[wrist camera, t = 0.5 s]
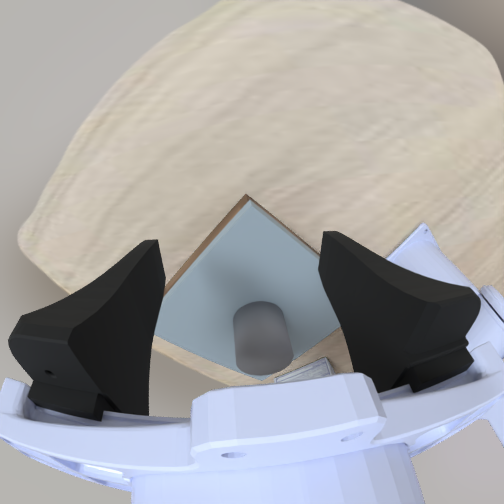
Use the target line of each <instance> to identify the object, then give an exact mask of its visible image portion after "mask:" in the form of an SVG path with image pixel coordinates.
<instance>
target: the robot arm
mask: <svg viewBox="0 0 504 504" xmlns="http://www.w3.org/2000/svg"><path fill="white" fill-rule="evenodd" d="M318 272H319V275H320V279H321V282H322V285H323V288H324V290H325V293H326V295H327V297H328V299H329V301H330V303H331V306H332V308H333V310H334V312H335V314H336V316H337V319H338V321H339V323H340V325H341V328H342V330H343V333H344V336H345V339H346V343H347V346H348V350H349V353H350V357H351V361H352V365H353V369H354V373H338V374H333V375H327V376H321V377H315V378H309V379H302V380H294V381H287V382H278V383H268V384H257V385H244V386H231V387H226V388H220V389H214V390H210V391H208V392H206V393H205V394H203V395H201V396H199V397H197V398H196V399H194V400H193V402H192V407H191V418H173V417H155V416H149V370H150V358H151V348H152V342H153V336H154V332H155V328H156V324H157V320H158V316H159V312H160V308H161V305H162V301H163V296H164V289H165V280H166V277H165V272H164V268H163V263H162V258H161V253H160V248H159V243H158V239H157V240H144V241H143V242H141V243H140V244H139V245H138V246H136V247H135V248H134V249H133V250H132V251H130V252H129V253H128V254H127V255H126V256H125V257H123V258H122V259H121V260H120V261H119V262H117V263H116V264H115V265H114V266H112V267H111V268H110V269H109V270H107V271H106V272H105V273H104V274H102V275H101V276H100V277H98V278H97V279H96V280H94V281H93V282H91V283H90V284H88V285H87V286H85V287H83V288H82V289H80V290H78V291H76V292H75V293H73V294H71V295H69V296H68V297H66V298H64V299H62V300H60V301H58V302H56V303H54V304H51V305H49V306H47V307H44V308H42V309H39V310H36V311H33V312H31V313H28V314H25V315H22V316H21V317H20V319H19V321H18V323H17V325H16V326H15V328H14V330H13V332H12V333H11V335H10V337H9V339H8V343H9V348H10V350H11V352H12V354H13V356H14V357H15V359H16V360H17V361H18V363H19V364H20V365H21V366H22V368H23V369H24V370H25V371H26V372H27V374H28V375H29V376H30V377H31V378H32V379H33V383H32V386H31V387H30V386H29V385H27V384H26V383H23V382H20V381H17V380H14V379H11V378H6V379H5V381H4V384H3V386H2V389H1V391H0V438H1V439H2V440H3V441H5V442H6V443H8V444H9V445H10V446H12V447H13V448H15V449H16V450H18V451H20V452H21V453H23V454H24V455H26V456H27V457H29V458H32V459H34V460H36V461H38V462H41V463H43V464H45V465H48V466H50V467H53V468H55V469H57V470H60V471H63V472H65V473H68V474H70V475H73V476H76V477H79V478H82V479H85V480H88V481H92V482H94V483H98V484H101V485H105V486H108V487H112V488H116V489H120V490H124V491H129V492H132V498H131V504H425V501H424V498H423V495H422V491H421V488H420V485H419V482H418V479H417V476H416V473H415V470H414V467H413V464H412V461H411V458H412V457H414V456H416V455H418V454H420V453H422V452H424V451H426V450H427V449H429V448H431V447H433V446H435V445H437V444H438V443H440V442H442V441H444V440H445V439H447V438H449V437H450V436H452V435H454V434H455V433H457V432H458V431H460V430H462V429H463V428H465V427H466V426H468V425H470V424H471V423H473V422H474V421H476V420H479V419H486V420H488V422H489V423H490V425H491V426H492V428H493V430H494V432H495V433H496V435H497V437H498V438H499V440H500V442H501V444H502V446H503V447H504V362H503V360H502V359H503V358H504V297H503V296H502V295H501V294H500V293H499V292H498V291H497V290H496V289H495V288H494V287H493V286H492V285H488V286H485V285H484V286H483V287H482V288H481V289H480V290H478V289H477V288H476V287H475V286H474V285H473V284H472V283H471V281H470V280H469V279H468V278H467V277H466V276H465V275H464V274H463V273H462V272H461V271H460V270H459V269H458V268H457V267H456V266H455V265H454V264H453V263H452V262H451V261H450V260H449V259H448V258H447V257H446V256H445V255H444V254H443V253H442V252H441V250H440V248H439V246H438V244H437V242H436V241H435V239H434V237H433V235H432V233H431V231H430V229H429V228H428V226H427V225H426V224H425V223H422V224H421V225H420V226H419V227H418V228H417V229H416V230H415V231H414V232H413V233H412V234H411V235H410V236H409V237H408V238H407V239H406V240H405V241H404V242H403V243H402V244H401V245H400V246H399V247H398V248H397V249H395V250H394V251H393V252H392V253H391V254H390V255H389V256H388V257H387V258H386V259H385V258H383V257H381V256H379V255H377V254H376V253H374V252H372V251H370V250H369V249H367V248H365V247H364V246H362V245H360V244H359V243H357V242H355V241H354V240H352V239H350V238H349V237H347V236H345V235H343V234H342V233H339V232H337V231H323V238H322V245H321V252H320V259H319V265H318Z"/></svg>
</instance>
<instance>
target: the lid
mask: <svg viewBox="0 0 504 504" xmlns="http://www.w3.org/2000/svg"><path fill="white" fill-rule="evenodd" d="M319 259H320V257H319V256H318V255H317V254H316V253H315V252H313V251H312V250H311V249H310V248H309V247H308V246H306V245H305V244H304V243H303V242H302V241H300V240H299V239H298V238H297V237H296V236H294V235H293V234H292V233H291V232H289V231H288V230H287V229H286V228H285V227H283V226H282V225H281V224H280V223H279V222H277V221H276V220H275V219H274V218H272V217H271V216H270V215H269V214H267V213H266V212H265V211H264V210H262V209H261V208H260V207H259V206H257V205H256V204H255V203H254V202H252V201H251V200H249V201H248V202H247V203H246V204H245V205H244V207H243V208H242V209H241V210H240V211H239V212H238V213H237V214H236V215H235V216H234V217H233V219H232V220H231V221H230V222H229V223H228V224H227V225H226V226H225V227H224V229H223V230H222V231H221V232H220V233H219V234H218V235H217V236H216V237H215V239H214V240H213V241H212V242H211V243H210V244H209V245H208V246H207V248H206V249H205V250H204V251H203V252H202V253H201V254H200V255H199V257H198V258H197V259H196V260H195V261H194V262H193V263H192V265H191V266H190V267H189V268H188V269H187V270H186V272H185V273H184V274H183V275H182V276H181V277H180V279H179V280H178V281H177V282H176V283H175V284H174V286H173V287H172V288H171V289H170V290H169V291H168V293H167V294H166V295H165V296H164V297H163V301H162V305H161V308H160V312H159V316H158V320H157V324H156V328H155V332H154V335H156V336H158V337H160V338H162V339H164V340H166V341H168V342H170V343H172V344H174V345H177V346H179V347H181V348H183V349H185V350H187V351H189V352H192V353H194V354H196V355H198V356H201V357H203V358H205V359H207V360H210V361H212V362H214V363H217V364H219V365H222V366H224V367H227V368H229V369H232V370H234V371H237V372H239V373H242V374H244V375H247V376H250V377H252V378H255V379H258V380H261V381H263V380H264V379H266V378H267V377H269V376H270V375H272V374H274V373H277V372H279V371H281V370H283V369H285V368H286V367H287V366H289V365H290V363H291V362H292V361H293V360H295V359H296V358H298V357H299V356H300V355H302V354H303V353H305V352H306V351H308V350H309V349H310V348H312V347H313V346H315V345H316V344H317V343H319V342H320V341H321V340H323V339H324V338H325V337H327V336H328V335H329V334H331V333H332V332H333V331H335V330H336V329H337V328H339V327H340V326H341V325H340V323H339V321H338V319H337V316H336V314H335V312H334V310H333V308H332V306H331V303H330V301H329V299H328V297H327V295H326V293H325V290H324V288H323V285H322V282H321V279H320V275H319V272H318V265H319Z"/></svg>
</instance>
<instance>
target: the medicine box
mask: <svg viewBox="0 0 504 504" xmlns="http://www.w3.org/2000/svg"><path fill="white" fill-rule="evenodd" d="M333 374H335V372H334V370H333V368H332V366H331V365H330V363H329V361H328V359H327V358H326V357H324V358H322V359H320V360H317V361H315V362H313V363H311V364H308V365H306V366H304V367H301V368H299V369H297V370H294V371H292V372H289V373H287V374H284V375H282V376H279V377H276V378H274V383H278V382H287V381H294V380H302V379H309V378H315V377H321V376H327V375H333Z"/></svg>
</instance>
